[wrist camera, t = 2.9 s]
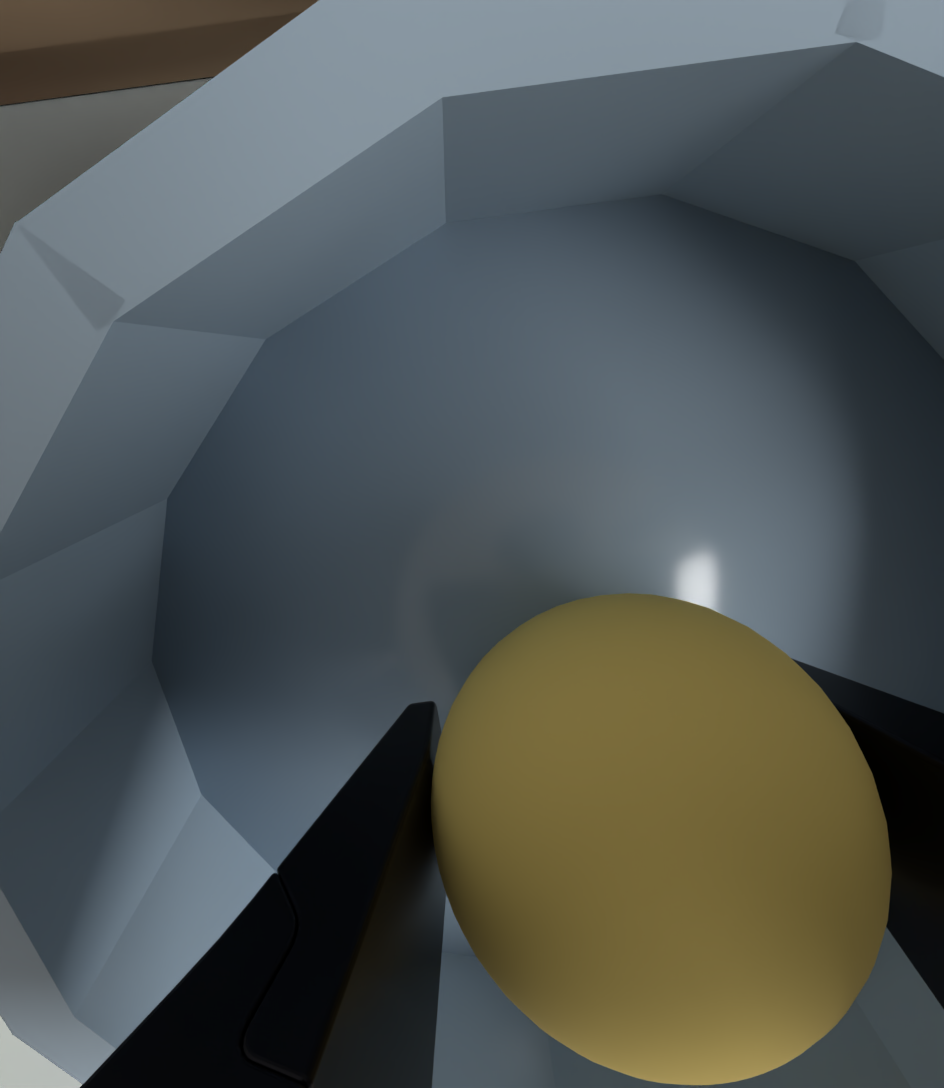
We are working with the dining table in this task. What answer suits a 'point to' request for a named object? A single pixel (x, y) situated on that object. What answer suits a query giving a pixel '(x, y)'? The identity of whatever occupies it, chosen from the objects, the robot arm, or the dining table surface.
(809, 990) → the ball
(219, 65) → the tray
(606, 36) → the bowl
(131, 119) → the dining table surface
